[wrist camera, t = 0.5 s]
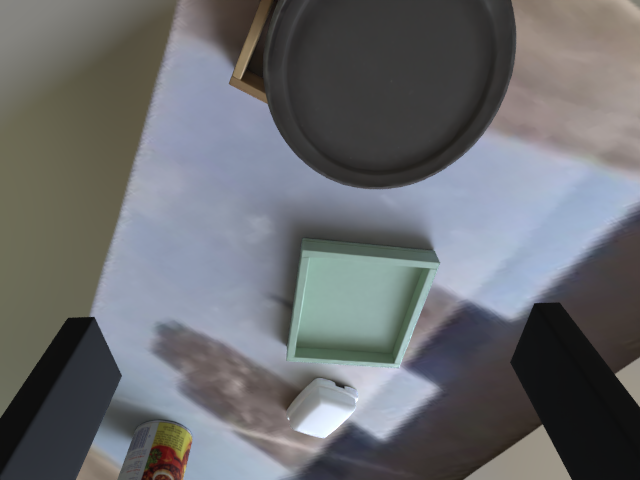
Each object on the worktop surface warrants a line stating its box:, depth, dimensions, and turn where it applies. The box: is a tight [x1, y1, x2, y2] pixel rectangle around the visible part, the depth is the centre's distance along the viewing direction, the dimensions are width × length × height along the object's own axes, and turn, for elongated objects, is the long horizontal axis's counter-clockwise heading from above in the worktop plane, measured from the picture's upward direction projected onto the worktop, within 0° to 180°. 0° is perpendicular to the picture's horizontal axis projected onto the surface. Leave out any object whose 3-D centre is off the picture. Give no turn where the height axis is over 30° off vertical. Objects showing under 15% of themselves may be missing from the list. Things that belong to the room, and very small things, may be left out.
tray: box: [286, 238, 440, 368], centre depth 42 cm, size 16×13×2 cm
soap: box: [287, 378, 358, 438], centre depth 51 cm, size 9×7×3 cm
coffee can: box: [263, 0, 516, 189], centre depth 22 cm, size 10×10×14 cm
